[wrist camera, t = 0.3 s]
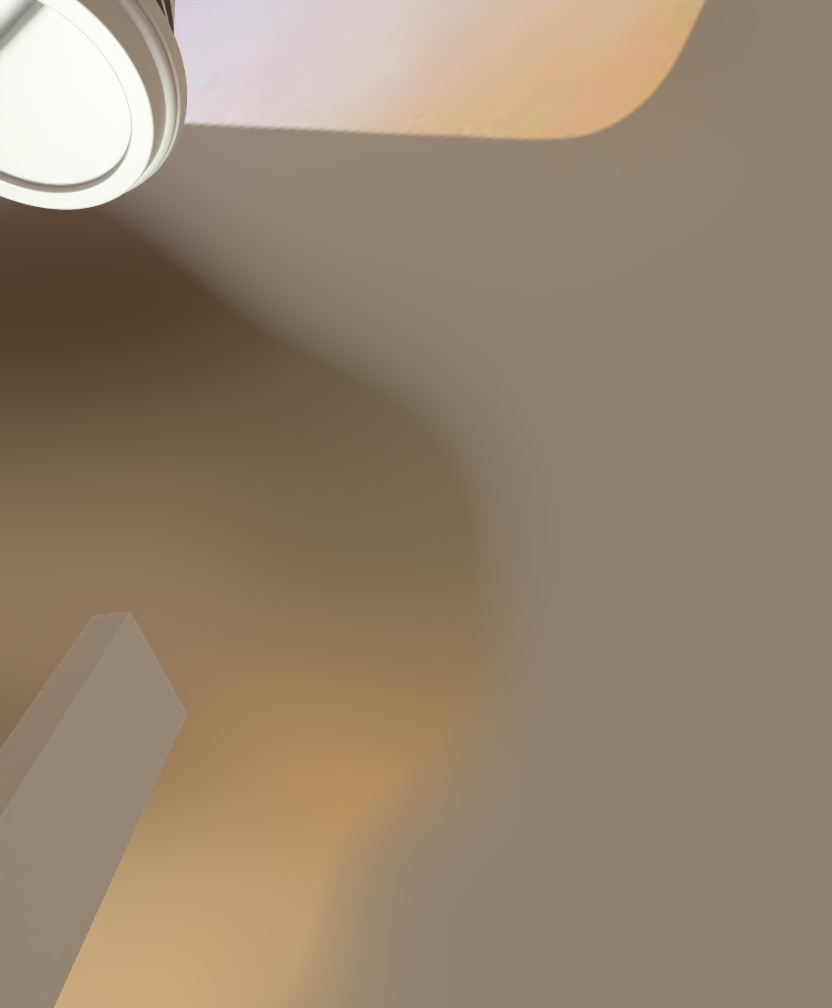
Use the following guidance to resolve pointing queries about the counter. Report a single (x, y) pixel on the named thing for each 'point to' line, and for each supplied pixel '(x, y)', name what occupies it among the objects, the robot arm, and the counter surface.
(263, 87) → the counter surface
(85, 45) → the coffee cup
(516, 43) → the counter surface
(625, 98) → the counter surface
